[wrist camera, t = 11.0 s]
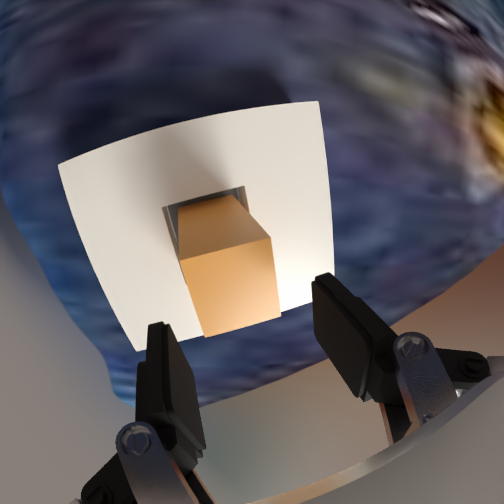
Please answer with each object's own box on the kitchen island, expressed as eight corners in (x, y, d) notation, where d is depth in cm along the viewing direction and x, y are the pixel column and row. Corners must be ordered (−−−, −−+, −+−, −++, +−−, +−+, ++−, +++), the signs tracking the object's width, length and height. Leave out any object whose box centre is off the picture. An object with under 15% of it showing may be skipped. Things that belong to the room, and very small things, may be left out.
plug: (178, 203, 20) (179, 260, 11) (229, 191, 21) (270, 237, 12) (191, 255, 22) (205, 337, 13) (239, 243, 23) (281, 316, 14)
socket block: (79, 158, 18) (57, 165, 14) (293, 105, 21) (318, 101, 17) (139, 320, 25) (136, 351, 21) (313, 270, 28) (334, 293, 24)
